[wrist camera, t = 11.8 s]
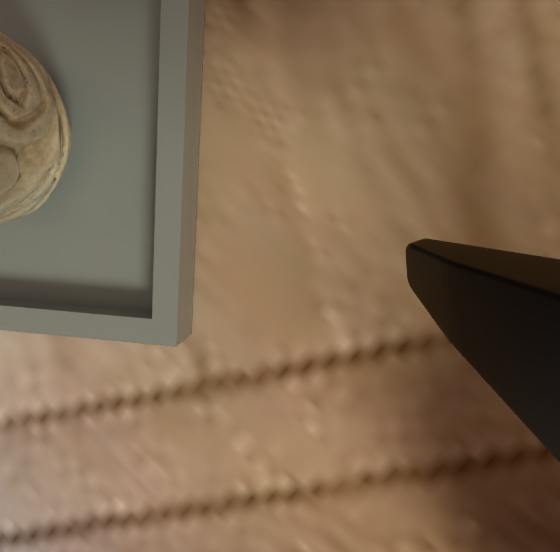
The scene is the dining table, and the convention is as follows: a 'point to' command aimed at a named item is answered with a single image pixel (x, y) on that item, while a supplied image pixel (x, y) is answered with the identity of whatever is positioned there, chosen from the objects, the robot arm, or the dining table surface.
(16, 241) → the tray
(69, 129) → the carving
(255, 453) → the dining table surface
